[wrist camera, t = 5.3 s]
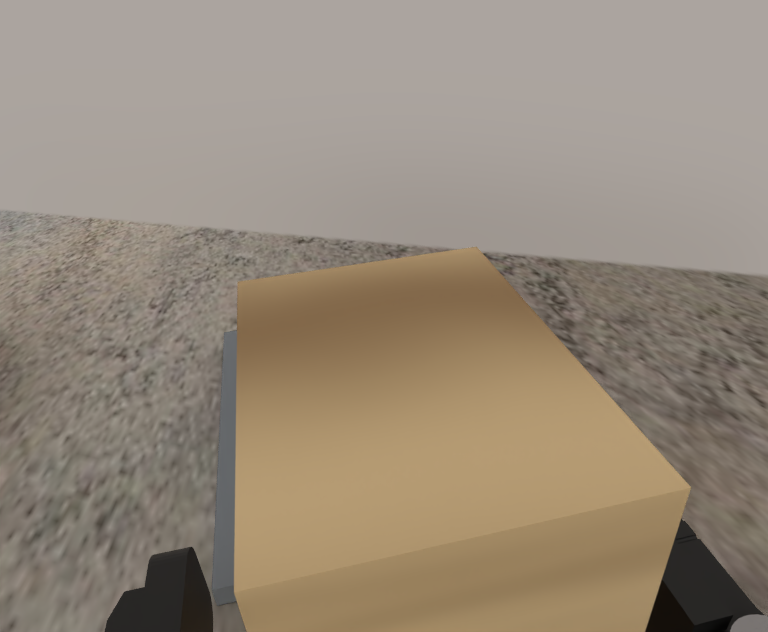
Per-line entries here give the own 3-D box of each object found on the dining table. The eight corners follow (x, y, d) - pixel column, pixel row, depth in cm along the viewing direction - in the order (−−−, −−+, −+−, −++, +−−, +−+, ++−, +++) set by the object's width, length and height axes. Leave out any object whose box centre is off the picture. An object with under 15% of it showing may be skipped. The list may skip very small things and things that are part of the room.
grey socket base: (602, 516, 20) (616, 446, 18) (217, 605, 18) (192, 536, 16) (460, 307, 32) (460, 254, 30) (227, 345, 30) (213, 290, 28)
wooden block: (561, 891, 12) (690, 487, 6) (353, 961, 11) (233, 593, 5) (465, 618, 17) (476, 247, 11) (318, 654, 16) (237, 281, 10)
